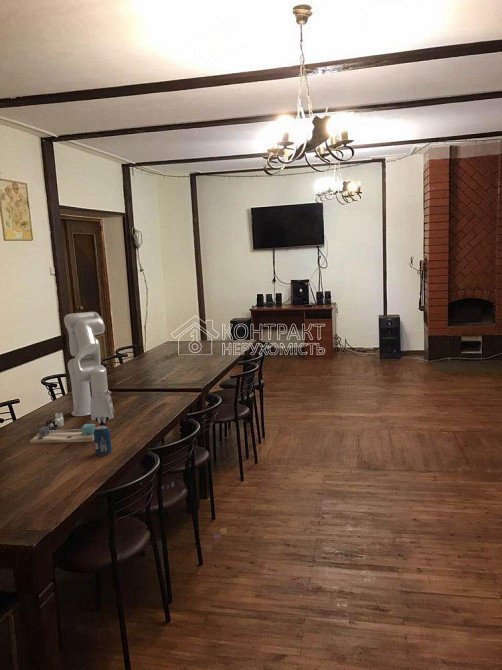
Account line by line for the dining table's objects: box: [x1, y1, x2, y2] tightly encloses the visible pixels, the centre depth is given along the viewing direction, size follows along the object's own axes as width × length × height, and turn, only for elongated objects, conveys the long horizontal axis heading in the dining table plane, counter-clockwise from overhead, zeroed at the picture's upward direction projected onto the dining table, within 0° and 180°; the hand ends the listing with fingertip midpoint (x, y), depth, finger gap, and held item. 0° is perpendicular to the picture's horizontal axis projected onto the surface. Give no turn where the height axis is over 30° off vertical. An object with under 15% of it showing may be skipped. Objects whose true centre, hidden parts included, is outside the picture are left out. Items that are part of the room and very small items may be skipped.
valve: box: [44, 412, 65, 430], centre depth 276 cm, size 7×7×12 cm
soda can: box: [93, 424, 112, 456], centre depth 237 cm, size 7×7×12 cm
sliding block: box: [81, 423, 96, 436], centre depth 259 cm, size 8×5×4 cm, turn 179°
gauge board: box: [29, 425, 94, 445], centre depth 260 cm, size 12×30×5 cm, turn 89°
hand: (103, 430), depth 261 cm, fingers closed
